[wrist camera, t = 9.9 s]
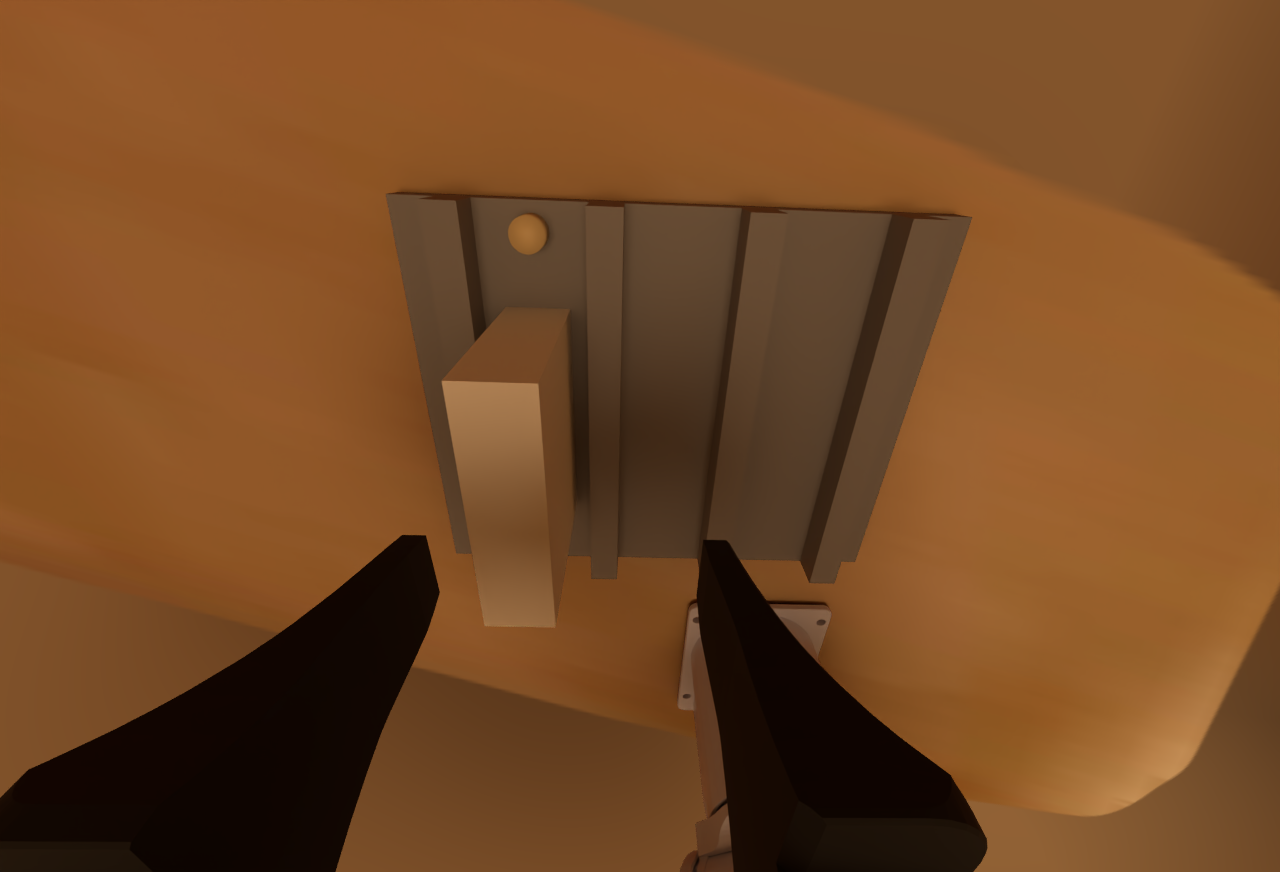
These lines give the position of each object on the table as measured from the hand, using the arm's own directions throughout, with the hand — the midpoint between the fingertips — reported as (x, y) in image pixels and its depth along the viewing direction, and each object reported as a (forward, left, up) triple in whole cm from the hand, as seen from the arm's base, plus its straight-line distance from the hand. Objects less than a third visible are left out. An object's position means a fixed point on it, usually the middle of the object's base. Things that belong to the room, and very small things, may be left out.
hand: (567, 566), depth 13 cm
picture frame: (0, +2, -9) cm, 9 cm away
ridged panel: (0, -3, -10) cm, 10 cm away
